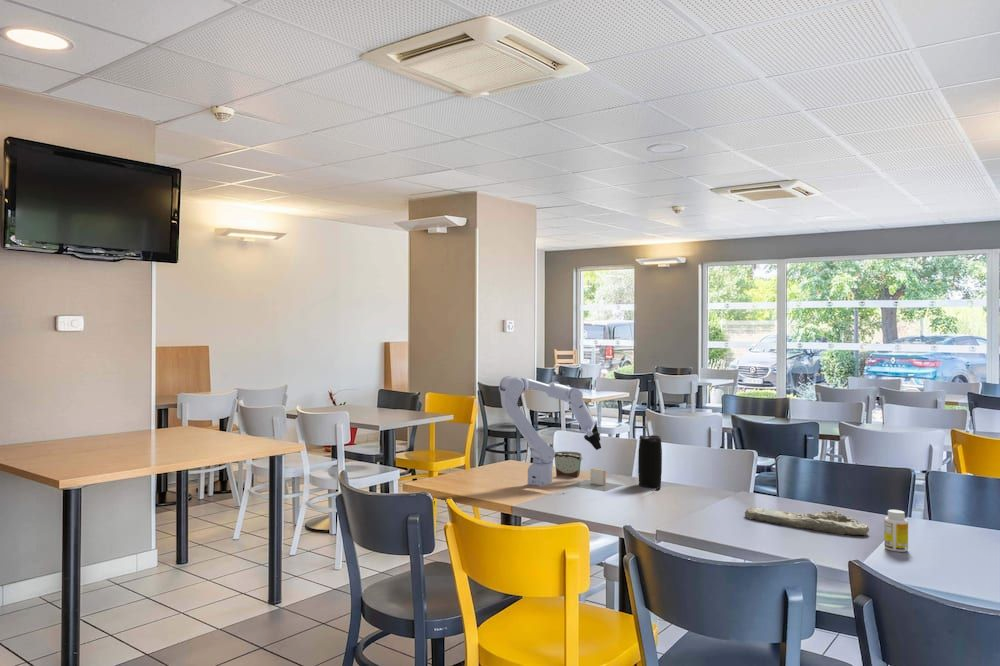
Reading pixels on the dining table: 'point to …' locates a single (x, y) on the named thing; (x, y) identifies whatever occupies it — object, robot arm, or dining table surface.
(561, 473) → the food container
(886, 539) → the supplement bottle
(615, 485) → the slate board
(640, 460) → the portable speaker
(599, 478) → the tile
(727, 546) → the dining table surface
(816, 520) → the long grey stone
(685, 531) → the dining table surface
